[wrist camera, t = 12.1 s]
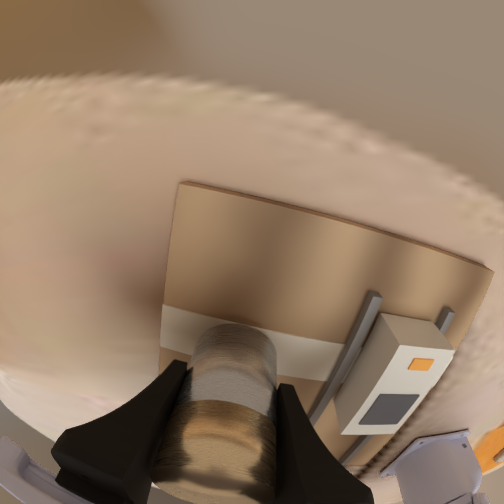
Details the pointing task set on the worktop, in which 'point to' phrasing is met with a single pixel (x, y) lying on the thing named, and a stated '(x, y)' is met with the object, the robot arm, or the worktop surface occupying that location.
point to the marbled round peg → (223, 422)
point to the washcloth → (499, 456)
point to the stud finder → (391, 375)
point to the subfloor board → (305, 292)
